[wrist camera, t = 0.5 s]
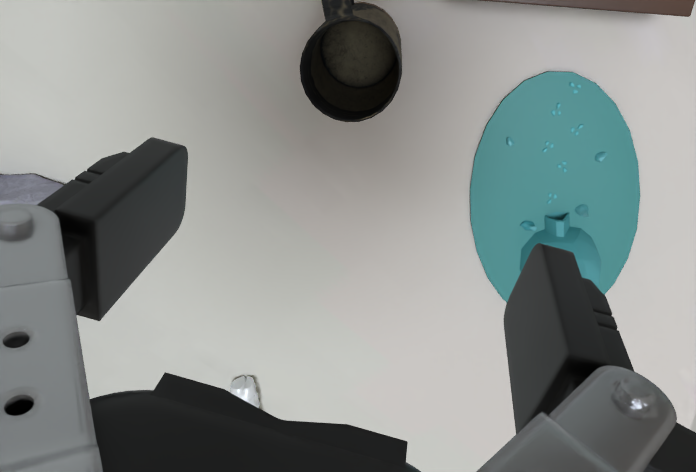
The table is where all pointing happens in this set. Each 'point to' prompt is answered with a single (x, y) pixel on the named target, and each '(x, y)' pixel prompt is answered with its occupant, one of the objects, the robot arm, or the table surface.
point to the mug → (352, 61)
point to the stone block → (26, 189)
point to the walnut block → (619, 5)
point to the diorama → (555, 181)
